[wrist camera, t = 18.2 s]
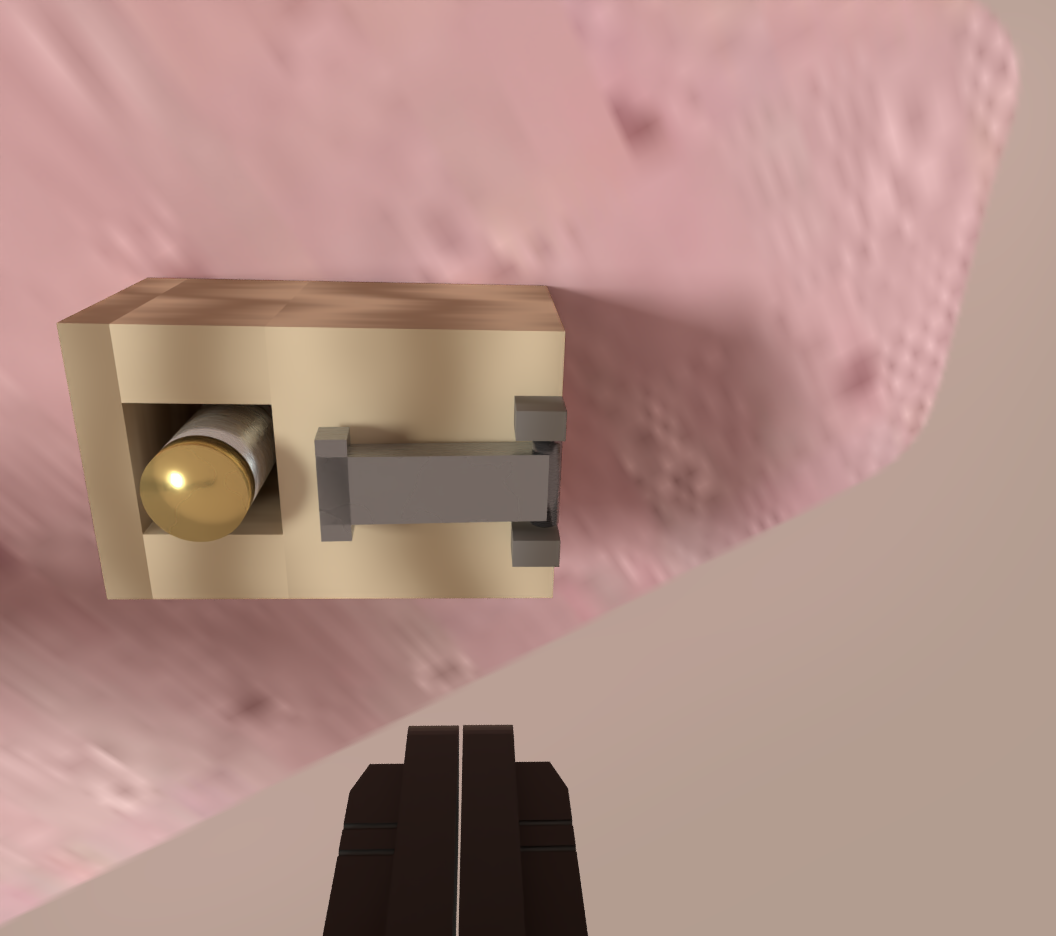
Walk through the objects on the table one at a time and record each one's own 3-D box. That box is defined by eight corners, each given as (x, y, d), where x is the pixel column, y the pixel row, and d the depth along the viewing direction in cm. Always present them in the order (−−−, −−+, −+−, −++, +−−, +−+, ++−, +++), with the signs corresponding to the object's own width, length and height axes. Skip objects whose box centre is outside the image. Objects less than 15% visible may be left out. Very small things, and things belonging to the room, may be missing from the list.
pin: (226, 439, 37) (148, 542, 28) (216, 363, 35) (131, 446, 27) (306, 439, 37) (253, 541, 28) (299, 363, 36) (241, 446, 27)
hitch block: (179, 504, 38) (88, 624, 29) (147, 277, 34) (31, 335, 25) (538, 505, 39) (556, 621, 30) (546, 285, 35) (570, 344, 26)
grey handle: (325, 525, 29) (321, 541, 28) (318, 427, 28) (314, 440, 27) (555, 521, 30) (560, 536, 29) (560, 425, 29) (565, 437, 28)
